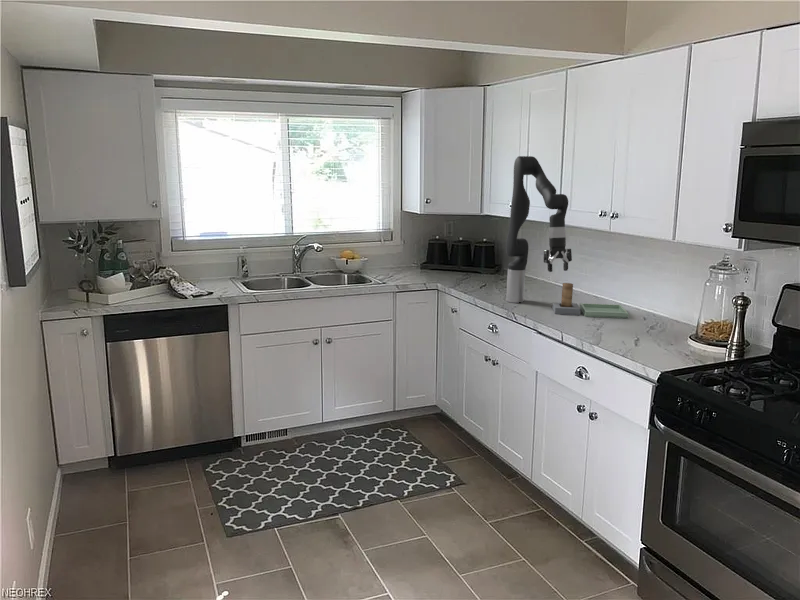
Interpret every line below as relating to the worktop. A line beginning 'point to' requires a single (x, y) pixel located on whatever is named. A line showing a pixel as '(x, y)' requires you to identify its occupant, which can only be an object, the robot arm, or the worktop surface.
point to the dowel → (567, 295)
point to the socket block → (566, 309)
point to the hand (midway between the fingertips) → (557, 271)
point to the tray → (603, 310)
